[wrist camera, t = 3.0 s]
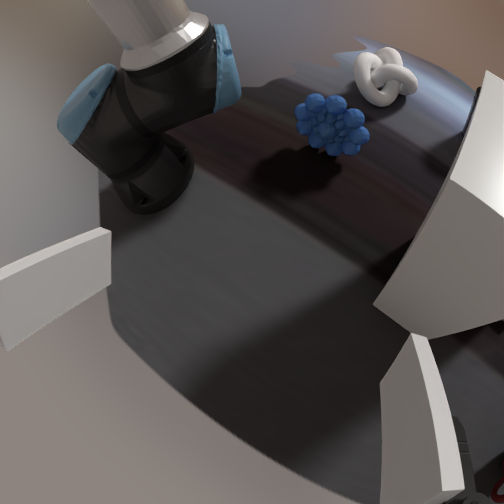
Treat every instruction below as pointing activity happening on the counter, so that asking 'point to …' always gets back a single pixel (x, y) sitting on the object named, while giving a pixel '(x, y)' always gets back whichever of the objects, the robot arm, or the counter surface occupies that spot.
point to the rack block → (458, 237)
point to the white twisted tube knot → (383, 76)
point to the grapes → (331, 124)
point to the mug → (494, 495)
